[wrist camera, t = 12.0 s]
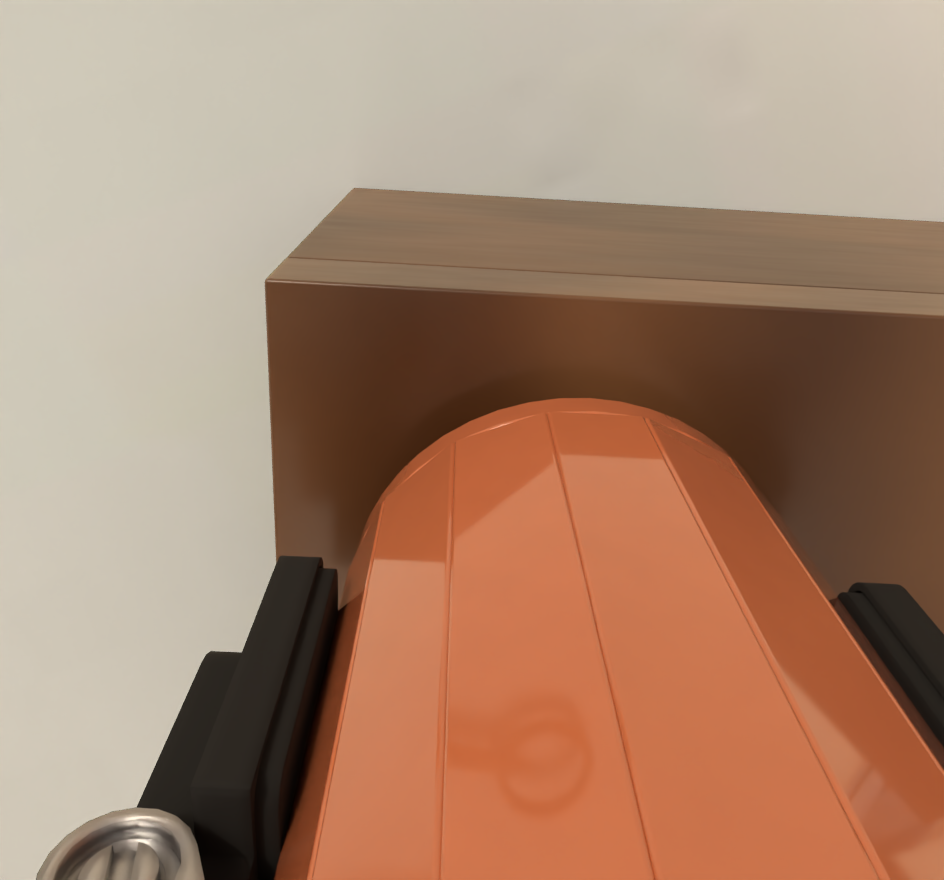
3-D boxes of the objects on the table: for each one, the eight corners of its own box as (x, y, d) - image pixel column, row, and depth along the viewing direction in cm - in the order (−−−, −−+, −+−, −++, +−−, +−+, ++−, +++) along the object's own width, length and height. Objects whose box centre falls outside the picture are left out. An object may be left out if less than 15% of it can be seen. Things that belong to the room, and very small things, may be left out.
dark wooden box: (352, 795, 29) (299, 1134, 20) (352, 187, 21) (263, 279, 12) (815, 812, 29) (975, 1151, 20) (990, 224, 21) (1388, 340, 12)
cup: (352, 749, 14) (227, 1484, 7) (352, 384, 12) (152, 932, 4) (736, 765, 14) (1021, 1496, 7) (822, 408, 12) (1420, 974, 4)
